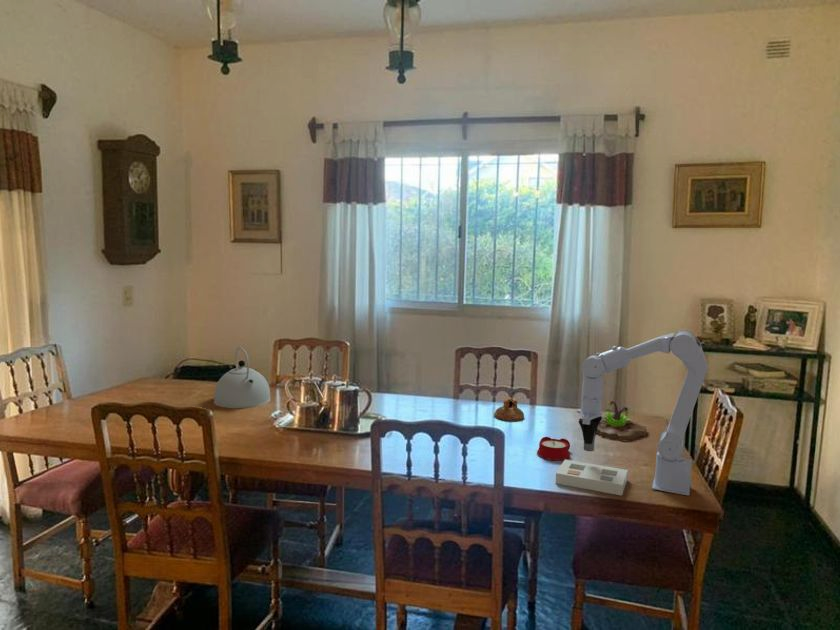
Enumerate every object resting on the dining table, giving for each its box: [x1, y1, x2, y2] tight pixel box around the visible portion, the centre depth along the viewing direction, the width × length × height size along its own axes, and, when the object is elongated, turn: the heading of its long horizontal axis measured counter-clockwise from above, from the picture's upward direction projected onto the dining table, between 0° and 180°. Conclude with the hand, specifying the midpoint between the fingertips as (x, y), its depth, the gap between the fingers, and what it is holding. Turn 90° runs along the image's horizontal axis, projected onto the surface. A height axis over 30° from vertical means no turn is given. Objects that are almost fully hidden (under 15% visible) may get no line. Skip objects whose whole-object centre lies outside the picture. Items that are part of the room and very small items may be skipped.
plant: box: [596, 400, 648, 441], centre depth 218 cm, size 20×20×11 cm
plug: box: [583, 421, 596, 452], centre depth 177 cm, size 3×3×9 cm
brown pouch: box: [493, 397, 525, 422], centre depth 233 cm, size 12×12×7 cm
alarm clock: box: [536, 436, 571, 462], centre depth 194 cm, size 10×6×15 cm
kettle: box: [213, 346, 271, 409], centre depth 248 cm, size 25×23×22 cm
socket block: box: [555, 459, 629, 496], centre depth 171 cm, size 18×12×3 cm, turn 65°
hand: (589, 441), depth 177 cm, fingers closed on plug, 3 cm apart
